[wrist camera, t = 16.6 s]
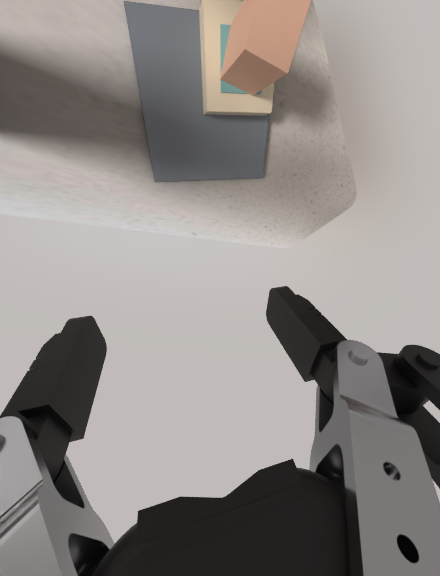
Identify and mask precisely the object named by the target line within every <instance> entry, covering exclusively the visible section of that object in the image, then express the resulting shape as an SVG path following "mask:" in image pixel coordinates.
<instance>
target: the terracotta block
mask: <svg viewBox="0 0 440 576" xmlns="http://www.w3.org/2000/svg"><path fill="white" fill-rule="evenodd" d="M310 3H311V0H244V1H243V3H242V5H241V7H240V9H239V11H238V12H237V14H236V16H235V18H234V20H233V21H232V23H231V26H230V31H229V36H228V41H227V46H226V51H225V56H224V61H223V66H222V71H221V76H220V80H222V81H224V82H226V83H228V84H230V85H232V86H234V87H236V88H238V89H240V90H242V91H244V92H247V93H249V94H251V95H254V94H255V93H257V92H259V91H260V90H262V89H264V88H265V87H267V86H269V85H270V84H272V83H273V82H275V81H277V80H278V79H280V78H282V77H283V76H285V75H287V74H288V72H289V69H290V66H291V62H292V59H293V56H294V53H295V50H296V47H297V44H298V40H299V37H300V34H301V31H302V28H303V25H304V22H305V19H306V15H307V12H308V9H309V6H310Z"/></svg>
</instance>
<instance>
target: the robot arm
mask: <svg viewBox="0 0 440 576" xmlns="http://www.w3.org/2000/svg"><path fill="white" fill-rule="evenodd" d="M266 316H267V321H268V323H269V325H270V326H271V328H272V330H273V331H274V333H275V335H276V336H277V338H278V339H279V341H280V343H281V344H282V346H283V348H284V349H285V351H286V352H287V354H288V356H289V357H290V359H291V360H292V362H293V363H294V365H295V367H296V368H297V370H298V372H299V373H300V375H301V376H302V378H303V380H304V381H305V382H307V381H311V380H315V381H316V382H317V384H318V387H317V392H316V418H315V437H314V442H313V446H312V450H311V457H310V470H306V469H302V468H296V466H295V463H294V461H293V459H291V460H288V461H285V462H282V463H279V464H276V465H273V466H270V467H267V468H264V469H261V470H259V471H257V472H256V473H255V474H254V475H252V476H251V477H250V478H248V479H247V480H246V481H245V482H243V483H242V484H241V485H240V486H238V487H237V488H236V489H235V490H234V491H232V492H231V493H230V494H228V495H227V496H226V497H223V498H206V497H205V498H204V497H178V498H175V499H172V500H170V501H167V502H164V503H161V504H158V505H155V506H152V507H149V508H146V509H143V510H140V511H138V521H137V523H136V524H135V525H134V526H132V527H131V528H130V529H129V530H128V531H127V532H126V533H125V534H124V535H123V536H122V537H121V538H120V539H119V540H118V541H117V542H116V543H115V544H114V542H113V540H112V538H111V536H110V534H109V532H108V530H107V528H106V527H105V525H104V523H103V522H102V520H101V519H100V517H99V516H98V515H97V514H96V513H95V511H94V510H93V509H92V507H91V505H90V503H89V501H88V499H87V497H86V495H85V493H84V491H83V488H82V486H81V484H80V482H79V480H78V478H77V476H76V474H75V471H74V469H73V467H72V465H71V463H70V461H69V459H68V457H67V456H66V451H67V448H68V444H69V442H72V441H76V440H79V439H83V438H84V434H85V430H86V427H87V423H88V419H89V415H90V412H91V408H92V405H93V401H94V397H95V394H96V390H97V386H98V382H99V379H100V375H101V371H102V368H103V364H104V360H105V357H106V351H107V347H106V342H105V339H104V337H103V335H102V333H101V331H100V329H99V327H98V325H97V323H96V321H95V319H94V318H93V317H92V316H86V317H79V318H72V319H69V320H68V321H67V322H66V324H65V326H64V328H63V330H62V332H61V333H59V334H55V335H54V336H53V337H52V338H51V339H50V340H49V341H48V342H46V343H45V344H44V345H43V347H42V348H41V350H40V352H39V353H38V355H37V357H36V360H34V361H33V363H32V365H31V366H30V368H29V369H30V370H29V371H27V373H26V375H25V376H24V378H23V380H22V381H21V383H20V385H19V386H18V388H17V390H16V391H15V393H14V395H13V396H12V398H11V399H10V401H9V403H8V404H7V406H6V408H5V409H4V411H3V413H2V414H1V416H0V576H440V503H439V499H438V496H437V493H436V490H435V487H434V484H433V481H432V479H433V480H434V482H435V483H436V484H437V486H438V487H439V488H440V423H439V422H438V421H437V420H436V419H435V418H434V417H433V416H432V415H431V414H430V413H429V412H428V411H427V410H426V409H425V408H424V407H423V405H424V404H425V403H426V402H427V401H429V400H430V401H431V402H432V403H433V404H434V405H435V406H436V407H437V408H438V409H439V410H440V354H438V353H436V352H434V351H432V350H430V349H428V348H425V347H422V346H418V345H407V346H405V347H404V348H403V349H402V350H401V351H400V353H399V354H390V353H377V352H375V351H374V350H373V349H372V348H370V347H369V346H367V345H365V344H363V343H361V342H358V341H353V340H347V339H346V338H345V337H344V336H343V335H342V334H341V333H340V332H339V331H338V330H337V329H336V328H335V327H334V326H333V325H332V324H331V323H330V322H329V321H328V320H327V319H326V318H325V317H324V316H323V315H321V313H320V312H319V311H318V310H317V309H315V307H314V306H313V305H312V304H311V303H310V302H309V301H308V300H307V299H305V298H303V297H302V296H300V295H295V294H294V293H293V291H292V290H291V289H290V288H289V287H287V286H284V287H277V288H272V289H271V290H270V292H269V299H268V304H267V310H266Z"/></svg>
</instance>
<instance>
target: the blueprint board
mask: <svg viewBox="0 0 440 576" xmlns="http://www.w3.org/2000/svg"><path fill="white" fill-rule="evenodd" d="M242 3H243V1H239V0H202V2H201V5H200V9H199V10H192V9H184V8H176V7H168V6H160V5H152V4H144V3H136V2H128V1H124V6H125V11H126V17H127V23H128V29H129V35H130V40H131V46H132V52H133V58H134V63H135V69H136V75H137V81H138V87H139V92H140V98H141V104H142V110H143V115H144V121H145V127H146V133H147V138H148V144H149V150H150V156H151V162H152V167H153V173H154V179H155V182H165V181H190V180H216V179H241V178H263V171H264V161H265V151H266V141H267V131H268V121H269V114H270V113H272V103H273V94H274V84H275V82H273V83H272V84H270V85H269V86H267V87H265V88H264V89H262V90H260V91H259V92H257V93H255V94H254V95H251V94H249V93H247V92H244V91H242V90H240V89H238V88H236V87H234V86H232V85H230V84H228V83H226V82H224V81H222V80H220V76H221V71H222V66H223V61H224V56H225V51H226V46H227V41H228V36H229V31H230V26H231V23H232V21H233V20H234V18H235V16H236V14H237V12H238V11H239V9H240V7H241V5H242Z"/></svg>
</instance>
